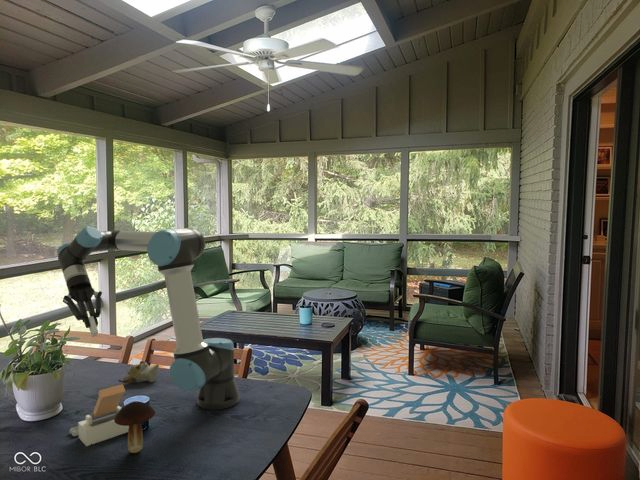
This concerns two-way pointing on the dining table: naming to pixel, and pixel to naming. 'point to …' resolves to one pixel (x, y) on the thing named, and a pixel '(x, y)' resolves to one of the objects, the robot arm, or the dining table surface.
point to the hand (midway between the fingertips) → (95, 334)
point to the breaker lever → (108, 401)
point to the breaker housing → (98, 429)
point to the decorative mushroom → (134, 422)
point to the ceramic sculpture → (141, 373)
